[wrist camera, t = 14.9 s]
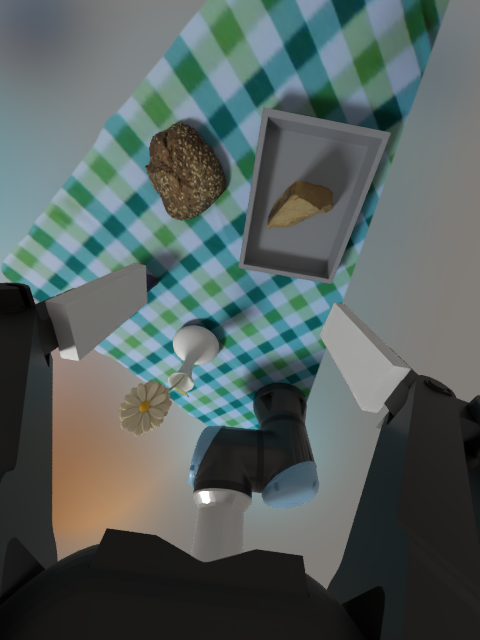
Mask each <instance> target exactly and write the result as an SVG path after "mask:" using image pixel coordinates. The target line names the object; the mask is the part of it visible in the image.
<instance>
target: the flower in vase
mask: <svg viewBox="0 0 480 640" xmlns="http://www.w3.org/2000/svg"><path fill="white" fill-rule="evenodd" d="M173 347H174V350H175V352H176V354H177V355H178V356H179V357H180V358H181V359H182V360H184V363H183V365H182V366H181V368H180V369H179V370H178V371H177V372H176V373H173V374H171V375H170V376H169V378H168V382H169V384H170V386H171V388H170V389H168V388H166V387H165V385H162V384H160V383H158V382H153V381H152V380H150V381H149V382H148V383H146V384H145V385H143V384H142V383H141V384H139V385H138V387H137V388H132V389H131V391H130V394H129V395H126V396H125V397H124V400H125V401H124V403H122V404H121V405H120V408H121V409H120V411H119V412H120V415H119V417H120V420H121V421H122V422H121V424H120V426H121V427H122V429H123V430H126V429H127V433H131V432H133V434H134V435H135V436H140V435H141V434H145V433H146V432H148V431H149V429H151V430H154V429H155V428H157V427H159V426H160V424H161V423H162V422H163V417H164V416H166V415H167V413H168V410H169V408H170V406H171V404H172V403H171V401H170V400H169V399H170V395H169V394H168V392H169V391H170V390H171V389H173V388H174V389H175V390H177V391H178V392H179V393H181V394H183V395H187V394H186V393H185V392H184V391H189V390H191V389H192V388H193V386H194V381H193V379H192V376H191V375H192V369H193V366H194V364H195V365H201V364H206V363H209V362H210V361H212V360H213V359H214V358H215V357H216V356H217V354H218V352H219V342H218V340H217V338H216V336H215V335H214V334H213V333H212V332H211V331H209V330H208V329H206V328H204V327H201V326H195V325H191V326H186V327H183V328H181V329H180V330H178V331H177V332H176V334H175V336H174V338H173ZM187 396H188V395H187ZM188 397H189V396H188Z"/></svg>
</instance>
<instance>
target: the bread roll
mask: <svg viewBox="0 0 480 640" xmlns="http://www.w3.org/2000/svg"><path fill="white" fill-rule="evenodd" d="M149 151H150V161H151V162H149V165H146V166H145V168H146V170H147V173H148V175H149V178H150V181H151V184H152V186H153V187H154V189H155V190H156V191H157V193H159V195H160V197H161V198H162V201H163V204H164V207H165V209H166V211H167V213H168V214H169V215H170V216H171V217H172V218H175V219H176V220H181V221H182V220H183V219H187V220H189V219H191V218H194V217H196V216H198V215H200V214H201V213H202V212H204V211H205V210H206V209H207V208H208V207H209V206H210V205H211V204H212V203H213V202H214V201H215V200H216V199H217V198H218V197H219V196H220V194H222V193H223V191H224V190H225V185H226V183H225V181H226V180H225V176H224V173H223V170H222V167H221V164H220V163H219V160H218V159H217V157H216V155H215V154H214V152H213V148H212V147H209V146H208V145H207V143H206V142H205V141H204V140H203V138H202V137H201V136H200V135H199V134H198V133H197V132H196V131H195V129H194V128H191V127H190V126H189V125H187V124H186V125H184V124H183V123H177V124H173V125H172V126H171V127H170V128H169V129H167V130H165V131H164V132H163V133H158V134H156V135H155V136H153V138H152V140H151V143H150V147H149Z"/></svg>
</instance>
